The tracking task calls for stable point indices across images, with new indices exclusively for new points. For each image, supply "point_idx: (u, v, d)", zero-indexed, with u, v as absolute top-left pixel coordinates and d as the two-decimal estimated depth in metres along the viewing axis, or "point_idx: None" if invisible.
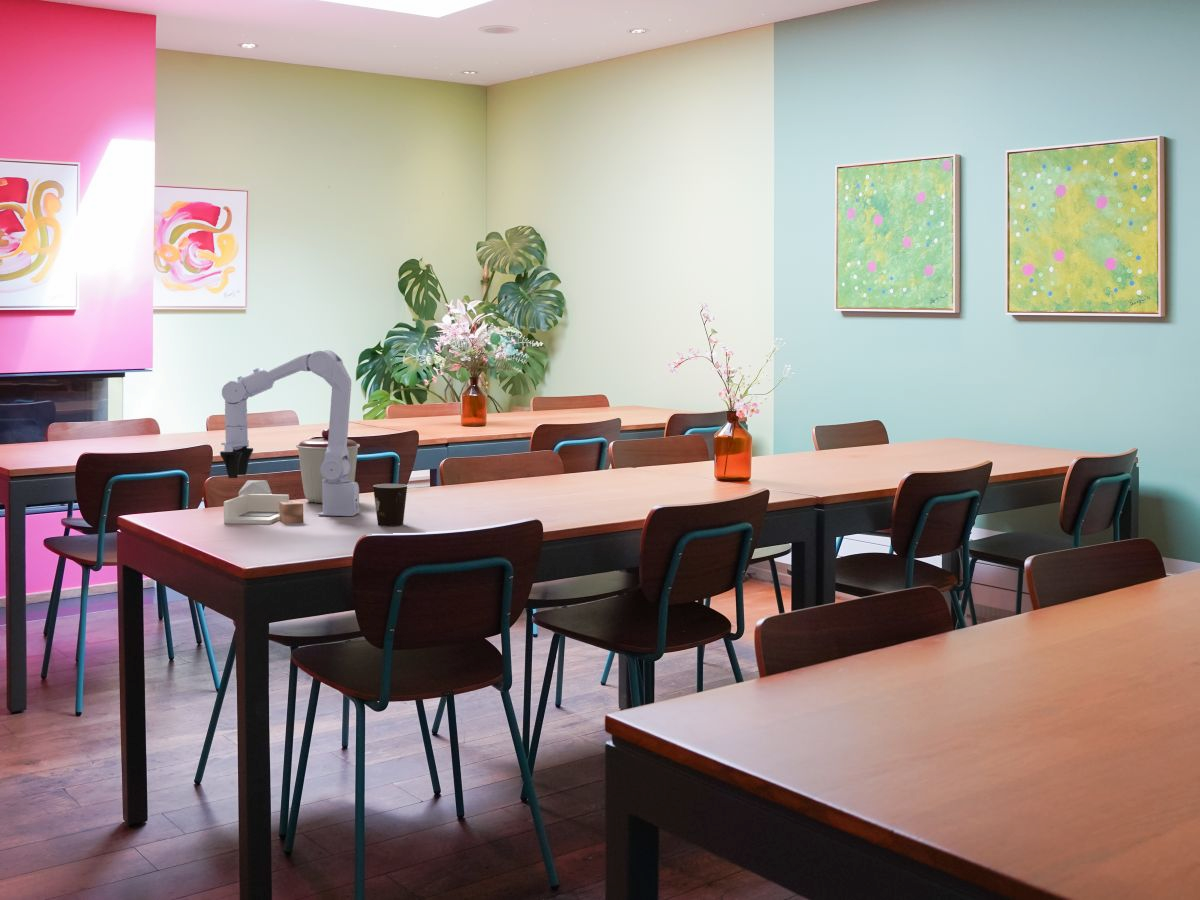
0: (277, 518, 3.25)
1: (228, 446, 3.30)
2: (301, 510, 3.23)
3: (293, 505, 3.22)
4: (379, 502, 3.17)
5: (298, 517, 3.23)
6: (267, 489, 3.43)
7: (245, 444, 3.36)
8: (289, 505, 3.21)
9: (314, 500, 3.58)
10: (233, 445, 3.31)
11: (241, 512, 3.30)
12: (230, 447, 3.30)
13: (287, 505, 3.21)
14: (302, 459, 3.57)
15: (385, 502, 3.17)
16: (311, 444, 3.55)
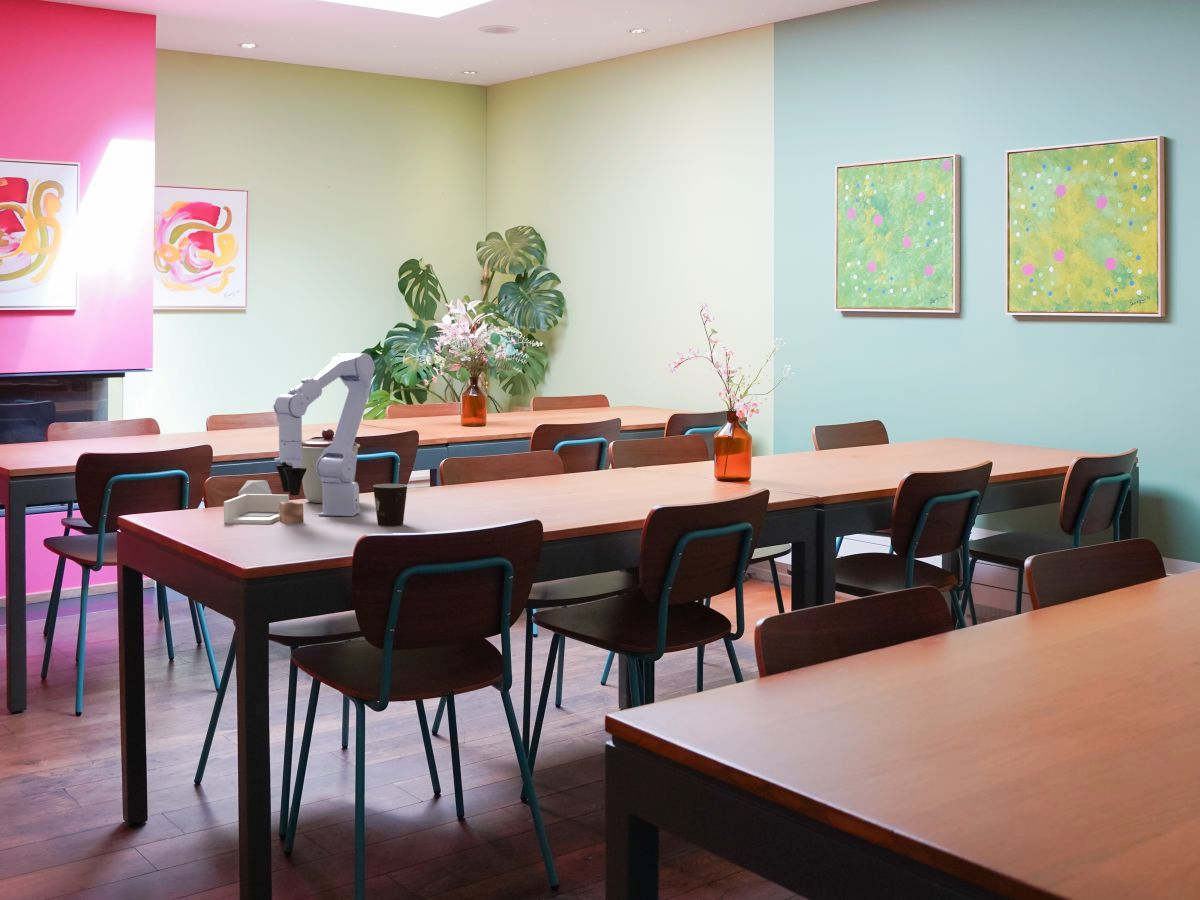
0: (277, 518, 3.25)
1: (297, 462, 3.17)
2: (301, 510, 3.23)
3: (293, 505, 3.22)
4: (379, 502, 3.17)
5: (298, 517, 3.23)
6: (267, 489, 3.43)
7: (302, 459, 3.23)
8: (289, 505, 3.21)
9: (314, 500, 3.58)
10: None
11: (241, 512, 3.30)
12: (299, 463, 3.17)
13: (287, 505, 3.21)
14: None
15: (385, 502, 3.17)
16: (311, 444, 3.55)
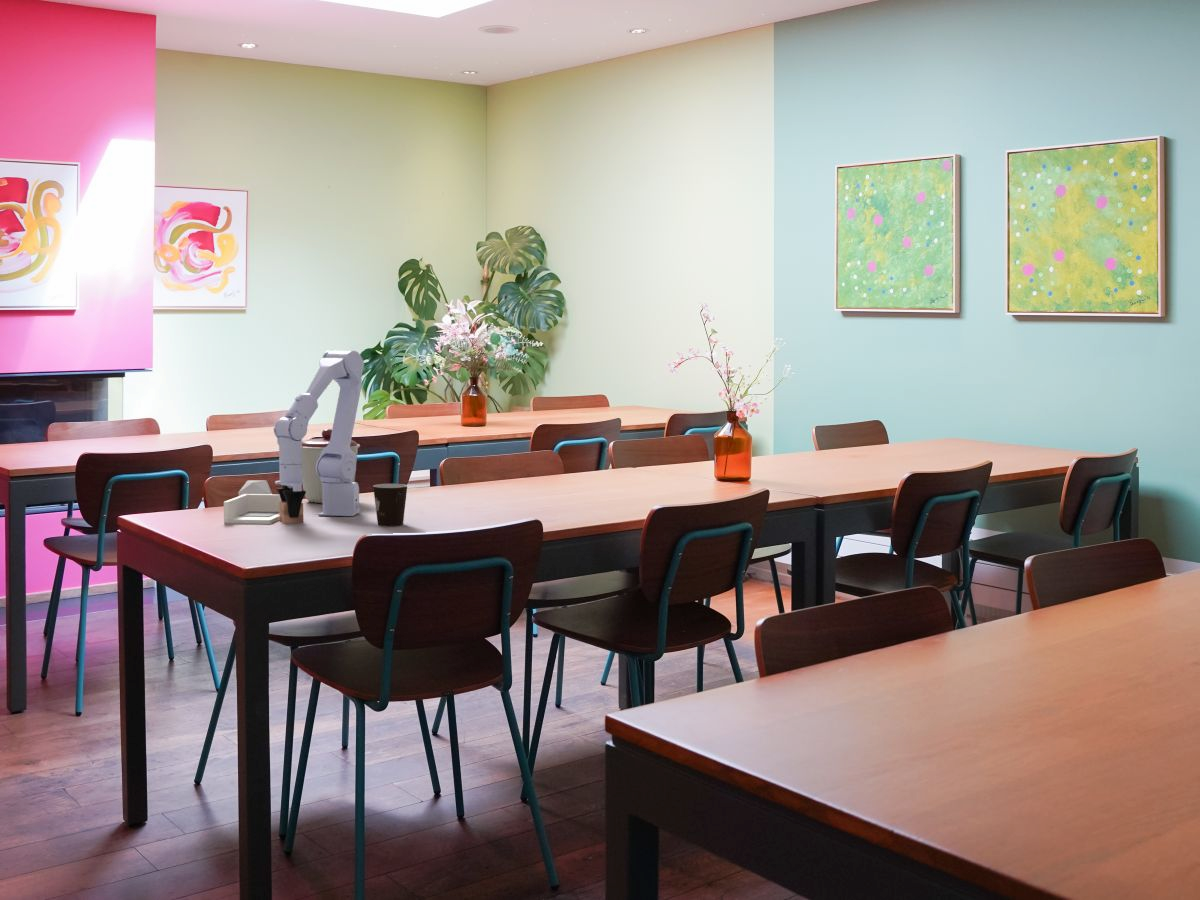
0: (277, 518, 3.25)
1: (298, 485, 3.17)
2: (301, 510, 3.23)
3: None
4: (379, 502, 3.17)
5: (298, 516, 3.23)
6: (267, 489, 3.43)
7: None
8: None
9: (314, 500, 3.58)
10: (300, 484, 3.19)
11: (241, 512, 3.30)
12: (300, 486, 3.17)
13: None
14: (302, 459, 3.57)
15: (385, 502, 3.17)
16: (311, 444, 3.55)
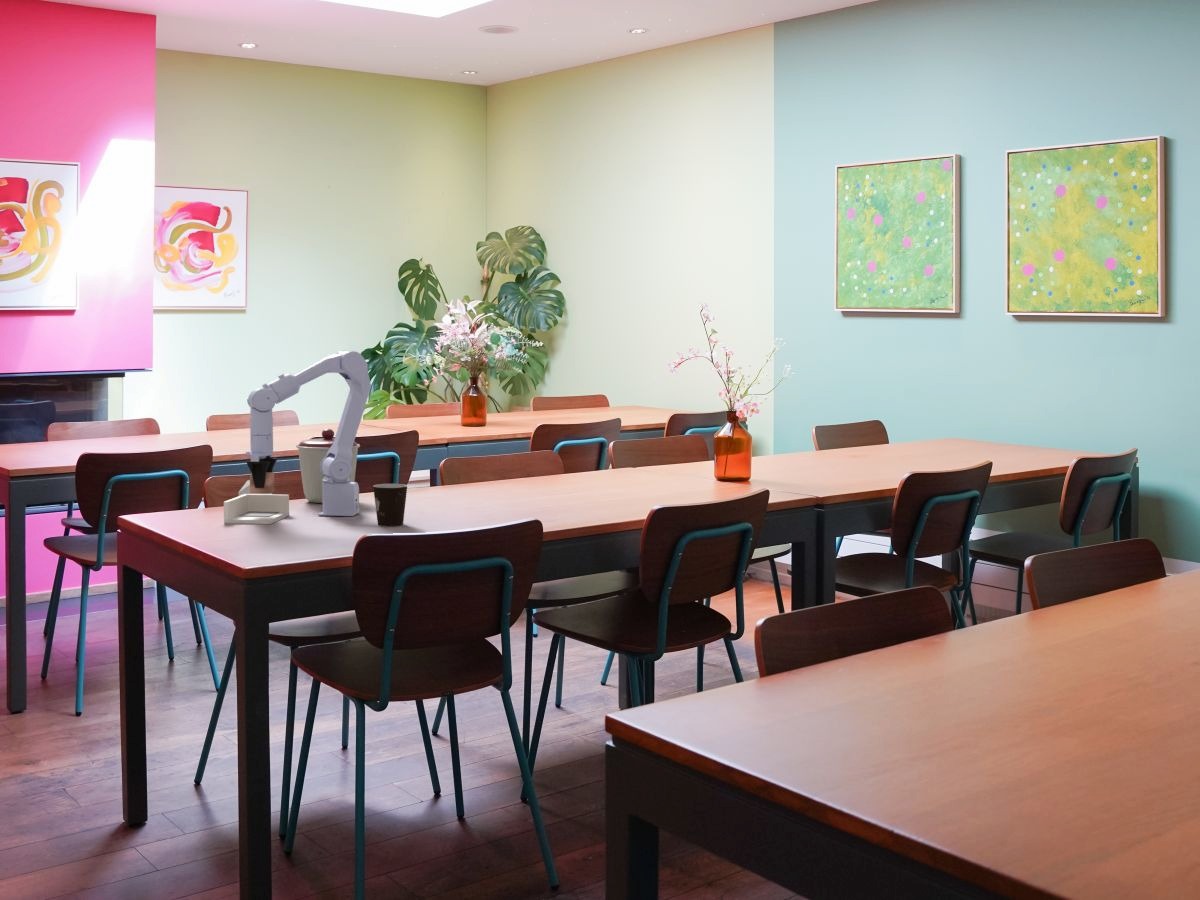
0: (277, 518, 3.25)
1: (254, 456, 3.20)
2: (267, 481, 3.25)
3: None
4: (379, 502, 3.17)
5: (264, 487, 3.26)
6: None
7: (271, 453, 3.26)
8: None
9: (314, 500, 3.58)
10: (259, 455, 3.21)
11: (241, 512, 3.30)
12: (256, 457, 3.20)
13: None
14: (302, 459, 3.57)
15: (385, 502, 3.17)
16: (311, 444, 3.55)
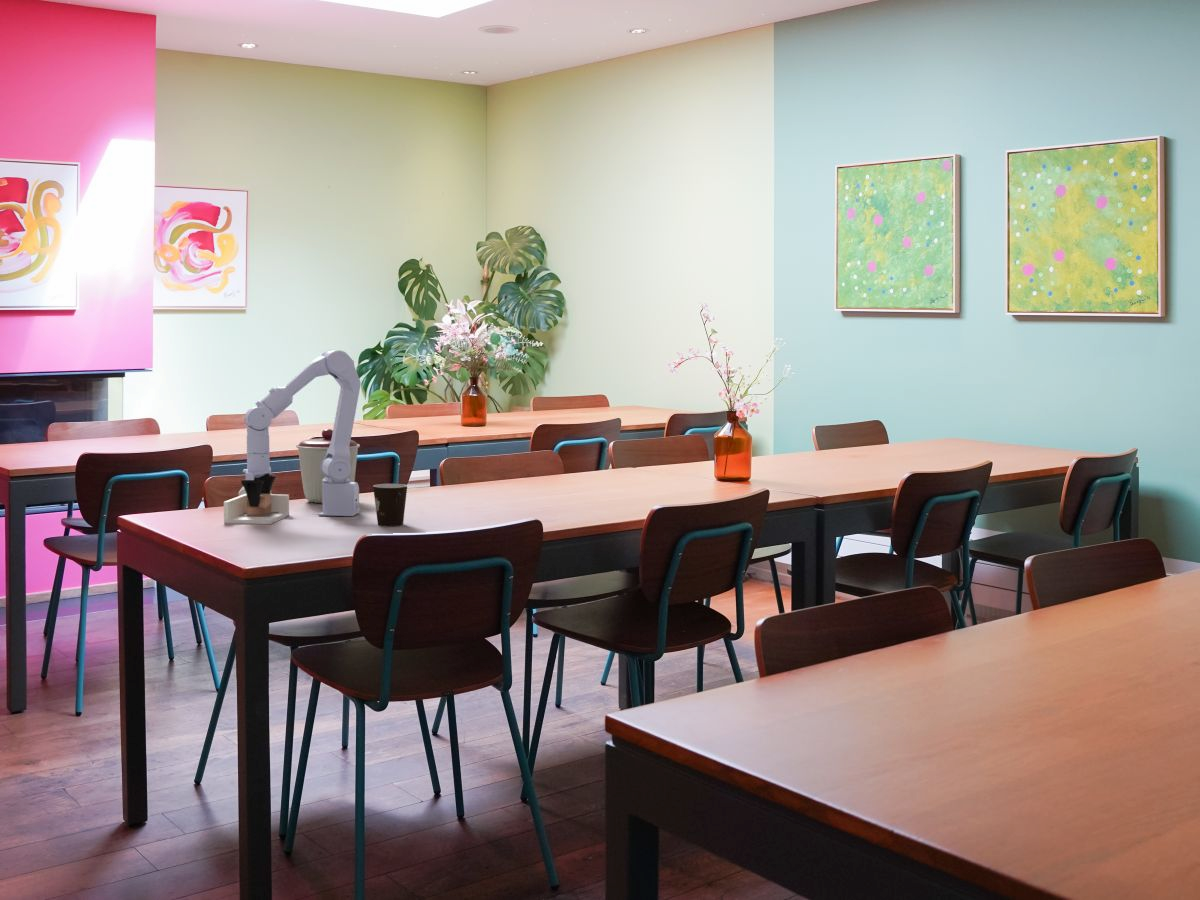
0: (277, 518, 3.25)
1: (249, 474, 3.21)
2: (263, 502, 3.27)
3: None
4: (379, 502, 3.17)
5: (260, 509, 3.27)
6: None
7: (267, 472, 3.27)
8: None
9: (314, 500, 3.58)
10: (254, 473, 3.22)
11: (241, 512, 3.30)
12: (251, 475, 3.21)
13: None
14: (302, 459, 3.57)
15: (385, 502, 3.17)
16: (311, 444, 3.55)
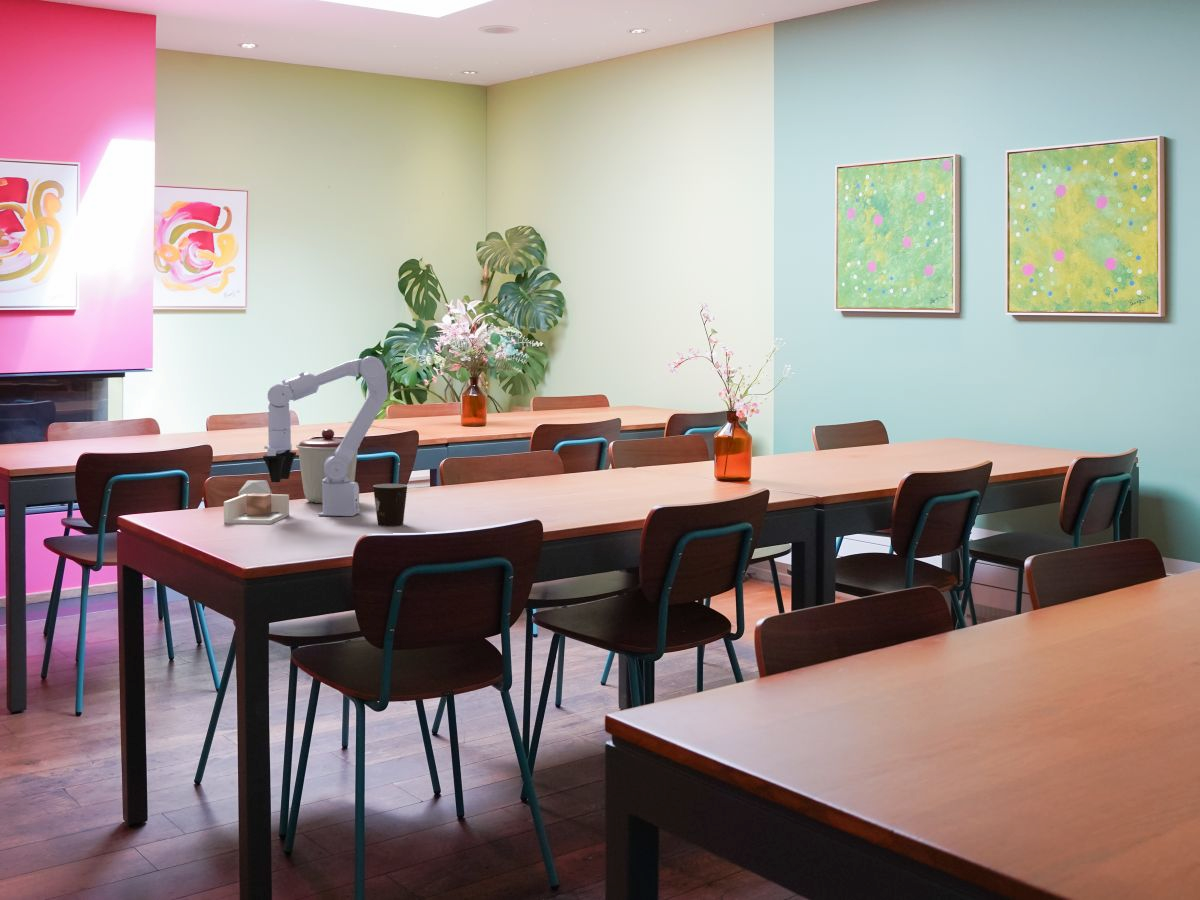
0: (277, 518, 3.25)
1: (271, 450, 3.26)
2: (263, 502, 3.27)
3: (255, 497, 3.27)
4: (379, 502, 3.17)
5: (260, 509, 3.27)
6: (267, 489, 3.43)
7: (288, 448, 3.32)
8: (251, 497, 3.27)
9: (314, 500, 3.58)
10: (276, 449, 3.27)
11: (241, 512, 3.30)
12: (273, 451, 3.26)
13: (249, 497, 3.27)
14: (302, 459, 3.57)
15: (385, 502, 3.17)
16: (311, 444, 3.55)
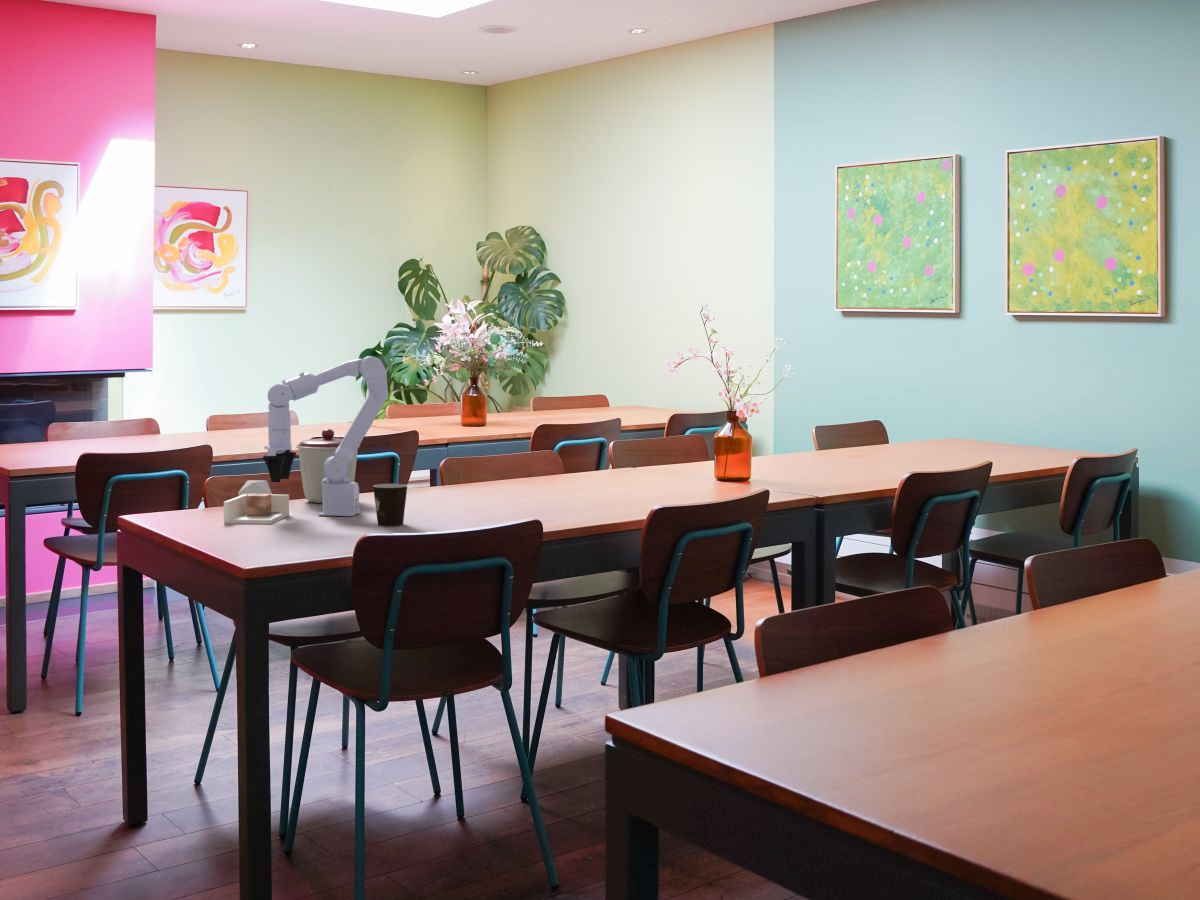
0: (277, 518, 3.25)
1: (271, 450, 3.26)
2: (263, 502, 3.27)
3: (255, 497, 3.27)
4: (379, 502, 3.17)
5: (260, 509, 3.27)
6: (267, 489, 3.43)
7: (288, 448, 3.32)
8: (251, 497, 3.27)
9: (314, 500, 3.58)
10: (276, 449, 3.27)
11: (241, 512, 3.30)
12: (273, 451, 3.26)
13: (249, 497, 3.27)
14: (302, 459, 3.57)
15: (385, 502, 3.17)
16: (311, 444, 3.55)
